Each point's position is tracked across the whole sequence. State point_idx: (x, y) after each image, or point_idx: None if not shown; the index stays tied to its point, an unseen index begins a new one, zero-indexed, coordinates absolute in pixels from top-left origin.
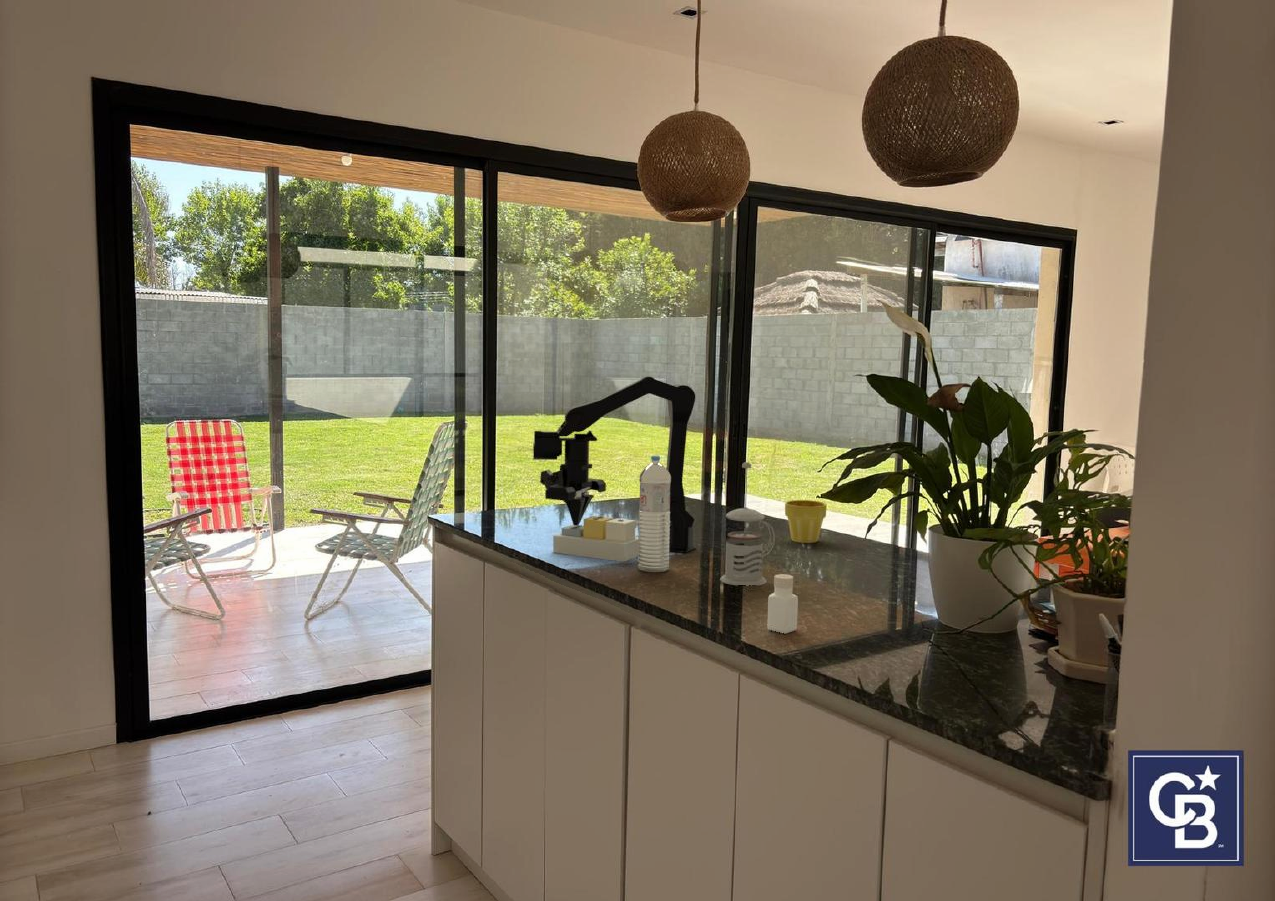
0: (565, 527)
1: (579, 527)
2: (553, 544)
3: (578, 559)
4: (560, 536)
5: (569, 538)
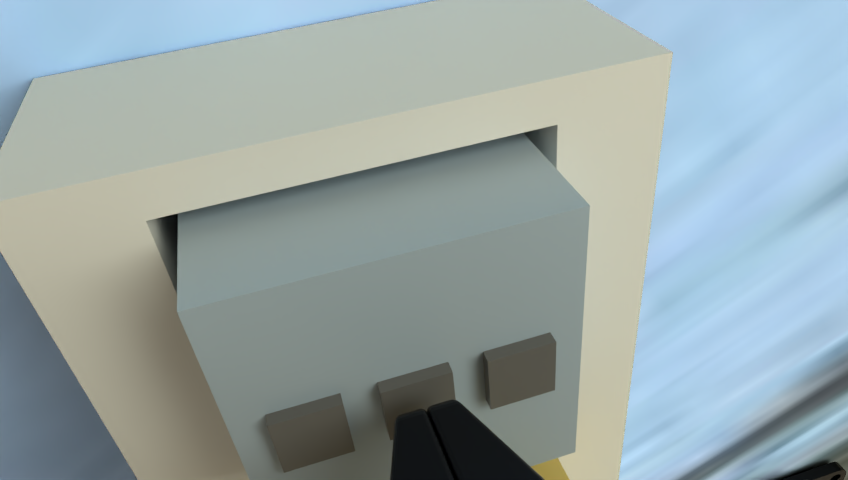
0: (284, 312)
1: None
2: (9, 133)
3: (52, 466)
4: (49, 326)
5: (118, 430)
